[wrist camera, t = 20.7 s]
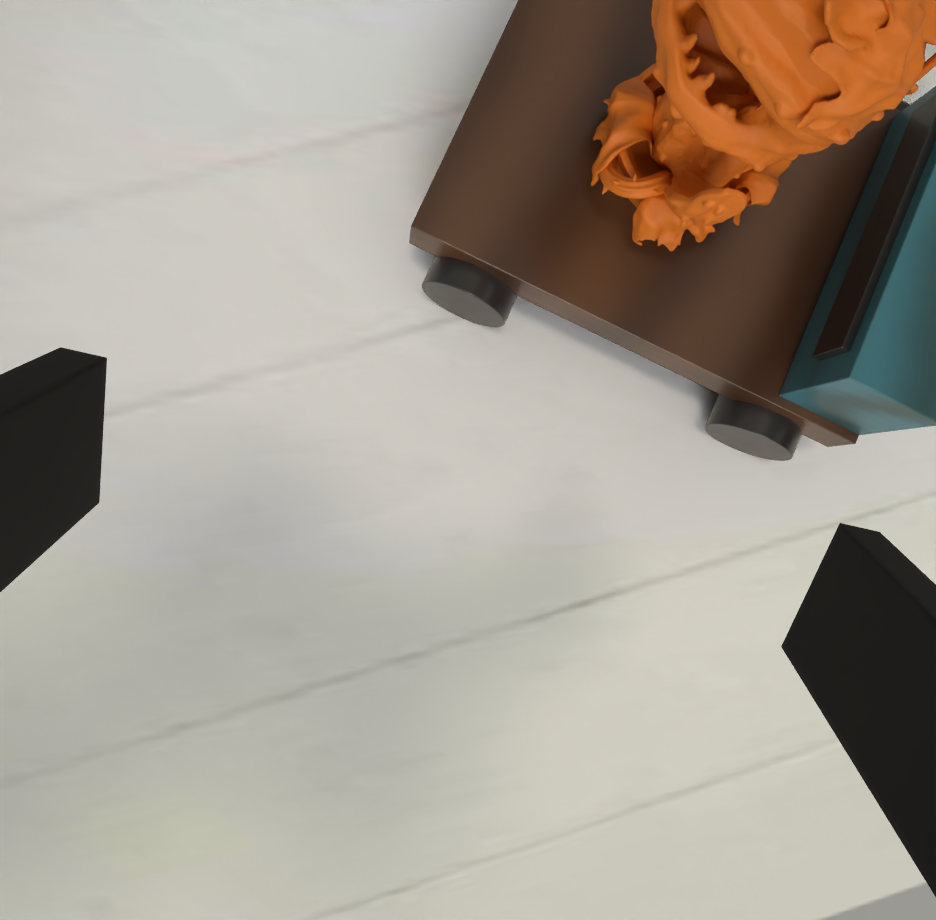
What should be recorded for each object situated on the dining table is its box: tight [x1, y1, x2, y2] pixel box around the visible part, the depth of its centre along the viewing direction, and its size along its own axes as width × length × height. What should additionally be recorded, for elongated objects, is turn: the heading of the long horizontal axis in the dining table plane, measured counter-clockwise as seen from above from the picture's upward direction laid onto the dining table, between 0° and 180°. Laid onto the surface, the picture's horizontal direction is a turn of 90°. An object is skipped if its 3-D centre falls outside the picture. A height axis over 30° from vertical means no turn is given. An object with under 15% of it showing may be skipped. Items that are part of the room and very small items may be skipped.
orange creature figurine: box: [591, 0, 936, 251], centre depth 30 cm, size 11×11×18 cm
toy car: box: [409, 0, 936, 461], centre depth 39 cm, size 26×21×12 cm
